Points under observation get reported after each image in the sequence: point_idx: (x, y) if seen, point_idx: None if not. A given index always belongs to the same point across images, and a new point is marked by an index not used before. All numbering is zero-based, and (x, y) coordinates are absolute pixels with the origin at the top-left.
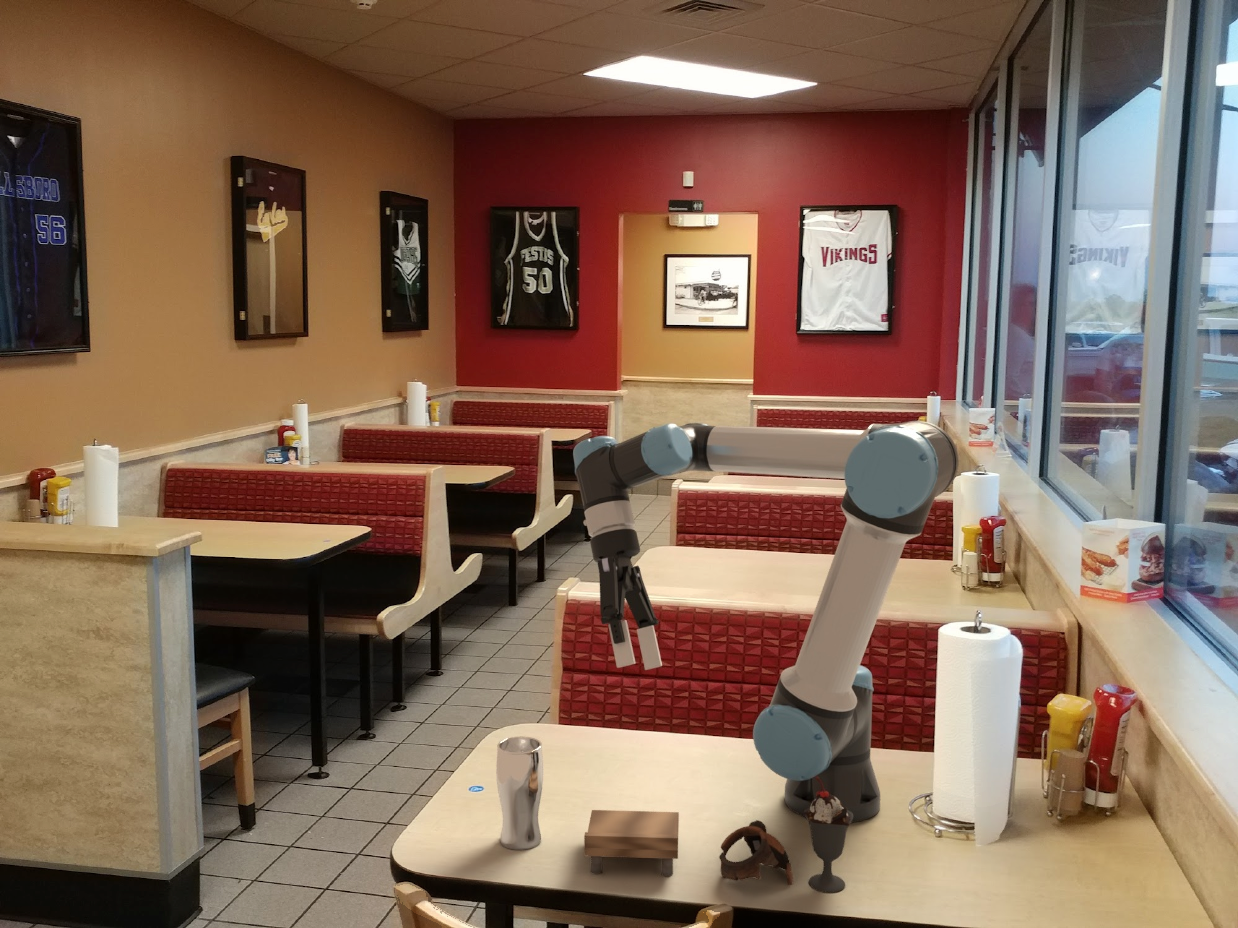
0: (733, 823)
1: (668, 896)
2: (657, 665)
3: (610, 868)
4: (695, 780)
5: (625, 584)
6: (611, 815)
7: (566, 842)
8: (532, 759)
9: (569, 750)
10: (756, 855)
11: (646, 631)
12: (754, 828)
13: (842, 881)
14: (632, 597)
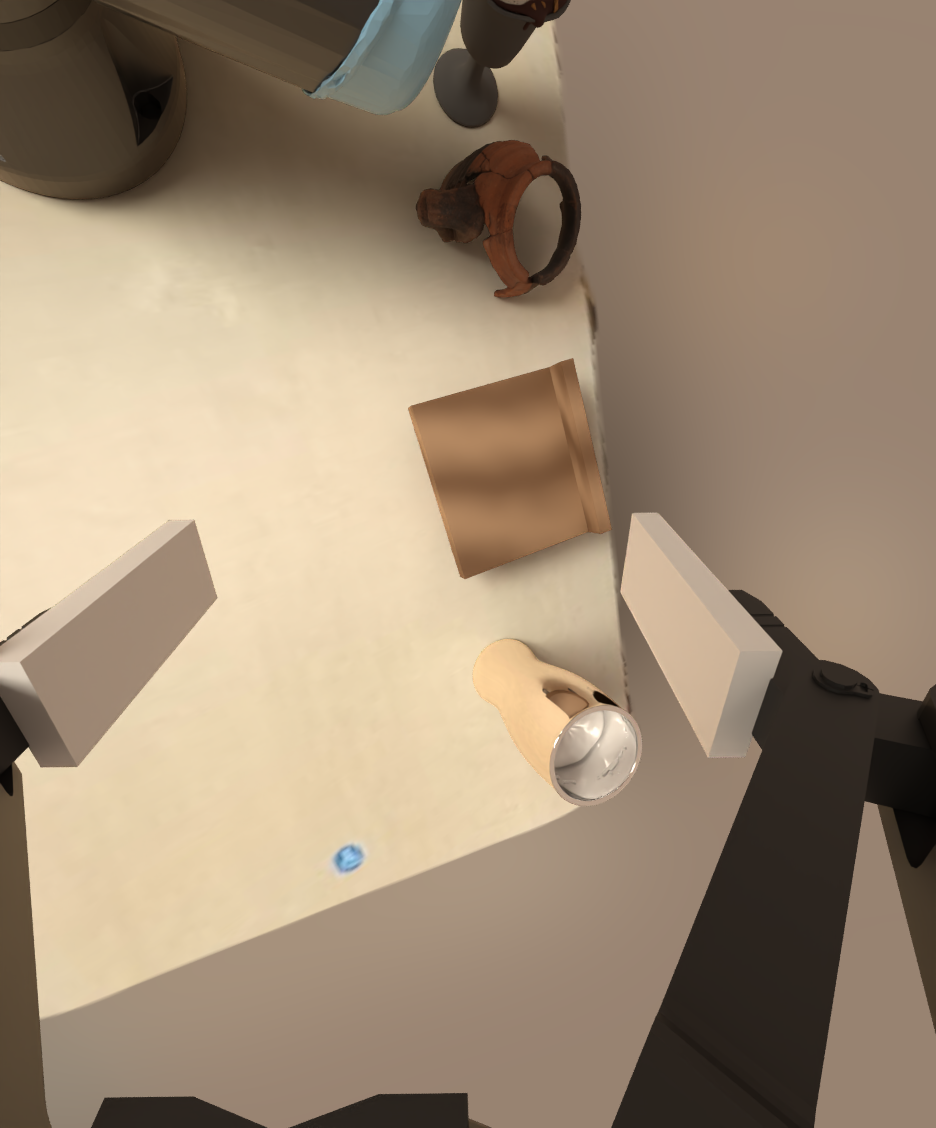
0: (286, 315)
1: (587, 376)
2: (196, 539)
3: None
4: (78, 460)
5: (759, 1108)
6: (474, 533)
7: (484, 600)
8: (610, 700)
9: (45, 824)
10: (577, 190)
11: (70, 684)
12: (523, 189)
13: (455, 52)
14: (1, 1034)
